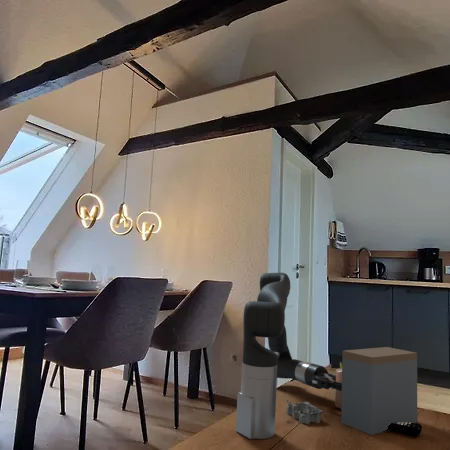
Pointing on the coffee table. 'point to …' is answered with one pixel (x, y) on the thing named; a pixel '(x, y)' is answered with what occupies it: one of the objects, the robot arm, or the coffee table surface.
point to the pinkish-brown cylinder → (338, 393)
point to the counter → (378, 388)
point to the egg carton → (304, 412)
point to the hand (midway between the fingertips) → (351, 387)
